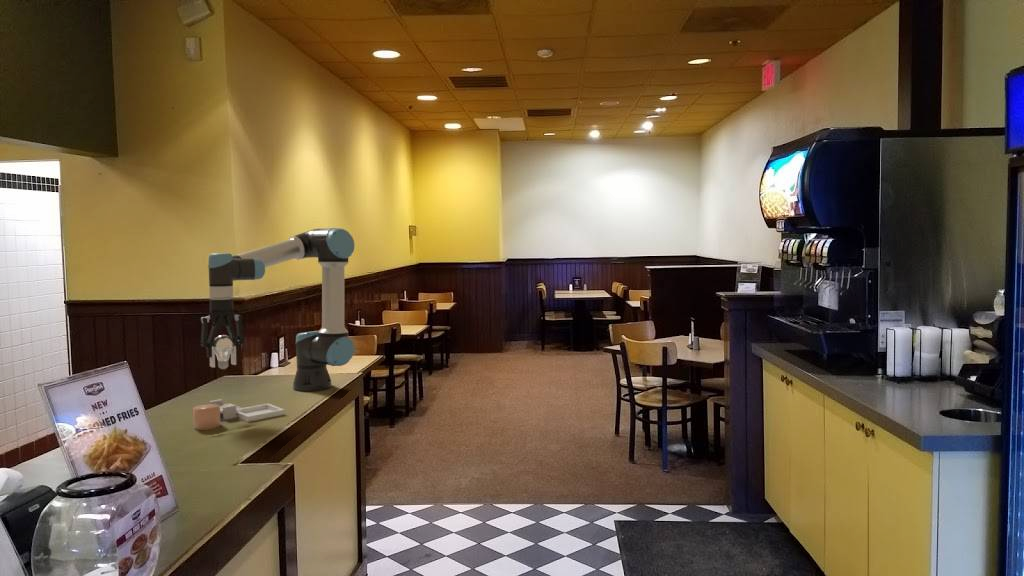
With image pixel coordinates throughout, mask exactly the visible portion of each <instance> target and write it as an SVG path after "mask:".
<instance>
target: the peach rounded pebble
mask: <svg viewBox="0 0 1024 576" xmlns="http://www.w3.org/2000/svg"><path fill="white" fill-rule="evenodd" d="M192 415H193V416H192V417H193V419H192V422H193V429H194V430H196V431H197V430H198V431H203V430H204V431H207V430H212V429H217V428H219V427H221V425H222V424H221V422H222V421H221V422H220V405H217V404H209V403H208V404H201V405H196V406H194V407H193V408H192Z"/></svg>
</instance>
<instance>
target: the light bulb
mask: <svg viewBox="0 0 1024 576" xmlns="http://www.w3.org/2000/svg"><path fill="white" fill-rule="evenodd" d="M212 348H215V357H216V359H217V366H218V368H219V369H220V370H222V371H225V370H226V369H227V368H228V367H229V366H230V365H229V360H230V358H231V352H232V350H233V348H234V342H233V340H232V339H231V338H230V335H226V334H221V335H218V336H216V337H215V340H214V343H213V346H212Z"/></svg>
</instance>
